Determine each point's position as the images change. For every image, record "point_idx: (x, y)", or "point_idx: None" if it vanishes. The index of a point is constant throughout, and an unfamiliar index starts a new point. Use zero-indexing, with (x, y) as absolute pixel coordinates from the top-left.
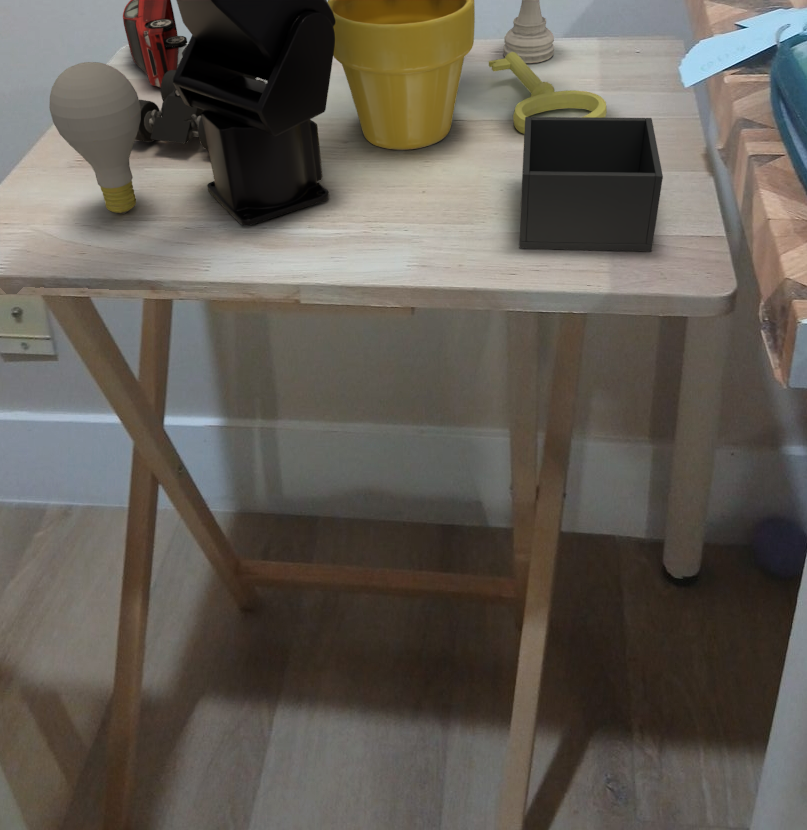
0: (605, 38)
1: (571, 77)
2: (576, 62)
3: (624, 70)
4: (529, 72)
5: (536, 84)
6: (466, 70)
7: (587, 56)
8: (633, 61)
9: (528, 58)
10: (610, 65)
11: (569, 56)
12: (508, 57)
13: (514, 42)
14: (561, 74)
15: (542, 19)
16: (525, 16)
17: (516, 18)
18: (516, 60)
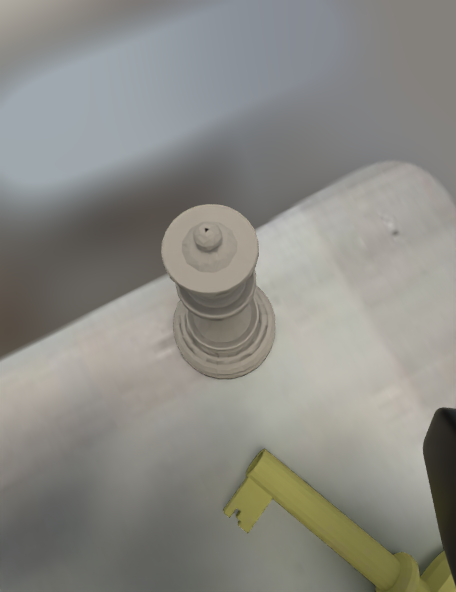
0: (310, 197)
1: (354, 394)
2: (324, 322)
3: (420, 317)
4: (342, 538)
5: (382, 579)
6: (152, 460)
7: (326, 286)
8: (411, 271)
9: (248, 372)
10: (386, 307)
11: (297, 301)
12: (258, 482)
13: (214, 370)
14: (330, 389)
15: (249, 303)
16: (223, 335)
17: (191, 318)
18: (285, 494)
